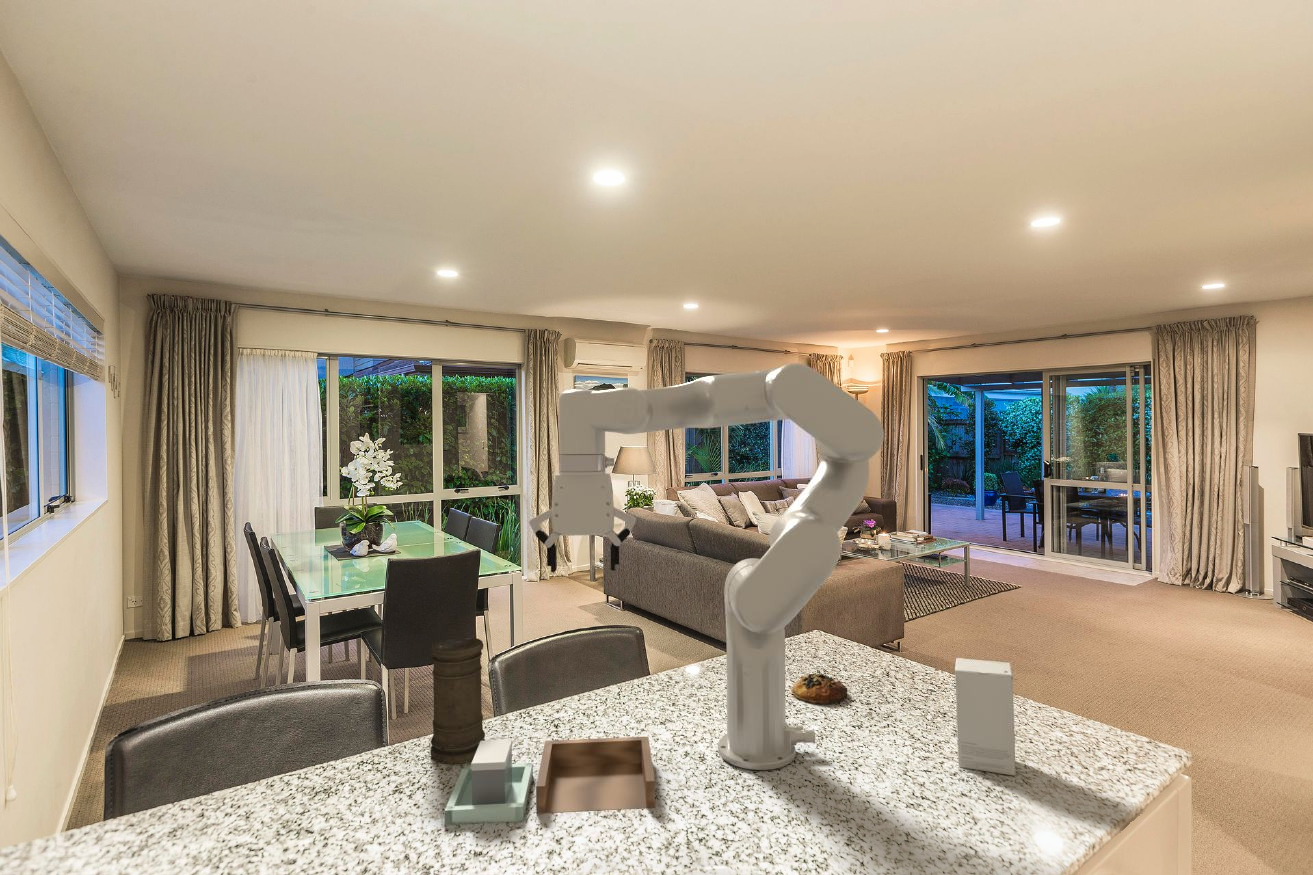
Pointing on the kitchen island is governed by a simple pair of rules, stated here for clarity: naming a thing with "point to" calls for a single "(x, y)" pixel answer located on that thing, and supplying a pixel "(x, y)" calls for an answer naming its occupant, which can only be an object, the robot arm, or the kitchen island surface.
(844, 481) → the robot arm
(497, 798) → the off-white upright block
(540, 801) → the bay
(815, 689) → the bread roll
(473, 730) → the container
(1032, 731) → the kitchen island surface
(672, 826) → the kitchen island surface
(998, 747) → the skincare box
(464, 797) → the tray
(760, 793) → the kitchen island surface
